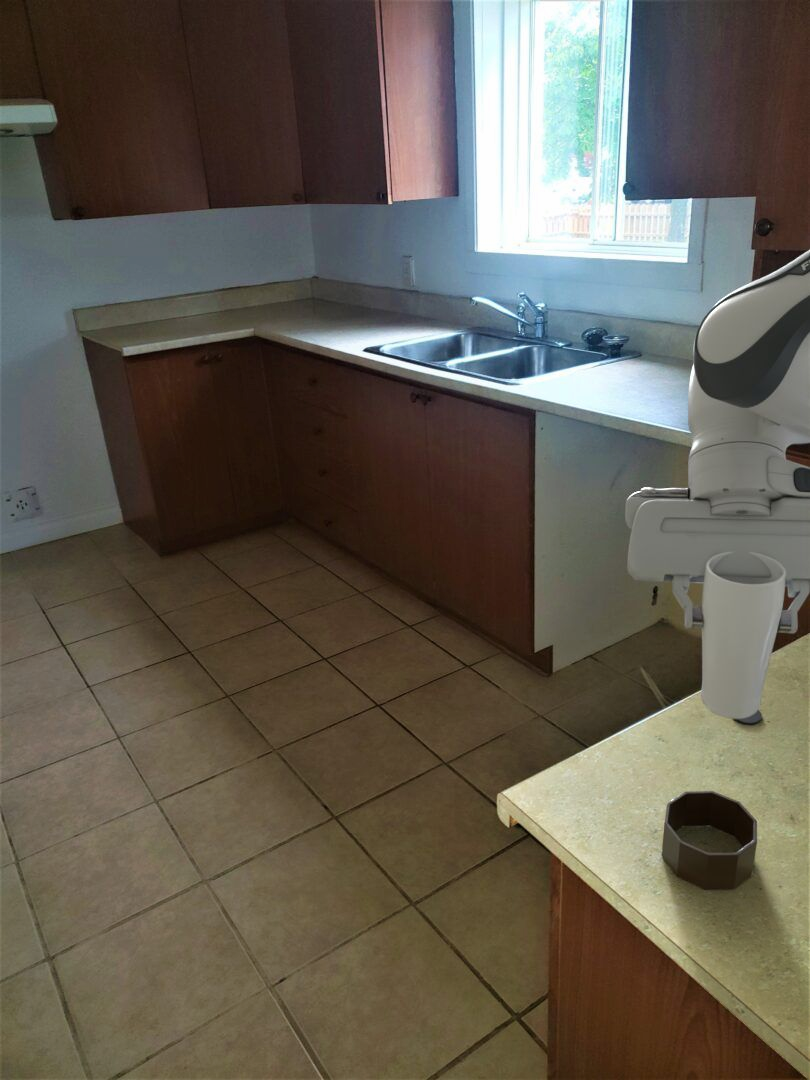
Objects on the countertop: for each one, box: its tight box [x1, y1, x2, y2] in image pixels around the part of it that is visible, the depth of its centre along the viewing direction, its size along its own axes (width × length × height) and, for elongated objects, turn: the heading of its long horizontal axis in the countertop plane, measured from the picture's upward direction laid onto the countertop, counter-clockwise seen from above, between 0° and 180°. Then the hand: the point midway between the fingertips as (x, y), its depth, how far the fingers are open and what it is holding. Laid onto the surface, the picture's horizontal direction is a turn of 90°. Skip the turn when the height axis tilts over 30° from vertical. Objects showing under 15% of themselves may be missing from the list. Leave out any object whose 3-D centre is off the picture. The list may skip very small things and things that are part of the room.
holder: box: [661, 790, 758, 891], centre depth 81 cm, size 8×9×4 cm
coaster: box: [733, 709, 763, 726], centre depth 100 cm, size 4×4×1 cm
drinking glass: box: [700, 552, 786, 720], centre depth 75 cm, size 7×7×15 cm
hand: (740, 629), depth 74 cm, fingers closed on drinking glass, 6 cm apart
